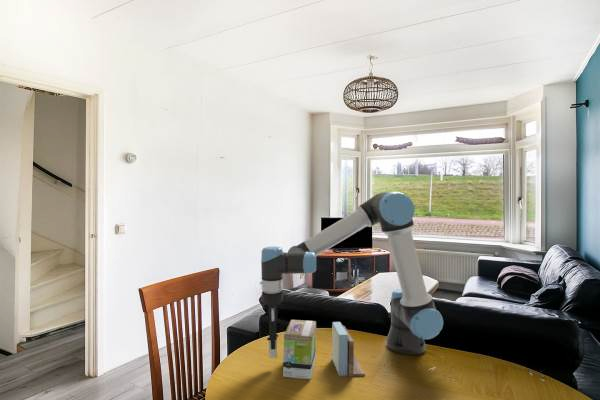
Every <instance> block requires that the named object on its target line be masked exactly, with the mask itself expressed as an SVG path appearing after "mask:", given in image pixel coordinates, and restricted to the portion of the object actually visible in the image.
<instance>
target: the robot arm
mask: <svg viewBox="0 0 600 400" xmlns="http://www.w3.org/2000/svg"><path fill="white" fill-rule="evenodd" d="M356 208H357V209H356V210H354V211H353V212H352V213H350V214H348V215H346V216H344V217H343V218H340V220H338V221H336V222H335V223H333V224H331V225H329V226H328V227H326V228H324V229H323V230H320V231H318V232H317V233H315V234H313V235H312V236H311V237H309V238H307V239H306V240H304V241H303V242H301V243H299V244H297V245H292V246H291V247H290V248H289V249H288V251H287V252H285V251H283V247H281V246H266V247H262V250H261V259H260V261H261V262H260V263H261V281H260V282H259V284H260V285H261V290H262V292H261V302H262V303H263V304H266V305H267V306H266V313H267V321H268V329H269V330H268V333H269V334H268V337H267V341H268V355H269V356H268V358H269V359H271V358H272V359H273V358H274V359H275V358H277V357H278V348H277V347H278V345H277V344H278V341H277V340H278V337H279V333H277V321H278V319H279V318H278V315H279V306H278V304H281V303H282V302H283V301H284V291H283V290H284V278H283V277H284V274H285V275H290V274H292V275H294V274H305V275H308V274H313V273H315V272H316V271H317V257H318V256H320V255H321V254H323V253H324V252H326V251H327V250H329V249H331V248H332V247H334V246H336V245H338V244H339V243H341V242H343V241H344V240H346V239H348V238H349V237H351V236H353V235H354V234H356V233H357V232H360V231H362V230H364V228H366V227H369V228H372V227H373V226H375V225H377V224H379V226H380V230H381V233H384V234H385V235H386V236H387V239H388V243H389V248H390V251H391V255H392V259H393V263H394V267H395V271H396V274H397V275H396V276H397V278H398V282H399V286H400V289H395V290H393V291H391V296H390V307H391V309H390V312H391V313H390V315H391V317H390V328H389V332H388V334H387V337H386V347H387V348H388V349H389V350H390V351H392V352H394V353H398V354H401V355H407V356H415V355H416V356H417V355H421V354H424V353H425V351H426V342H425V340H431V339H433V338H436V337H437V336H438V335H439V334H440V332H441V331H442V329H443V326H444V319H443V316H442V314H441V312H440V311H438V310H437V308H436V306H435V302H434V298H433V296H432V295H431V294H430V293H428V291H427V289H426V284H425V281H424V276H423V273H422V270H421V264H420V261H419V258H418V253H417V249H416V245H415V241H414V237H413V233H412V229H413V227H414V226H415V223H414V220H413V219H414V218H413V217H414V215H415V205H414V202H413V201H412V199H411V197H409V196H408V195H407V194H405V193H402V192H400V191H385V192H379V193H376V194H375V195H373V196H372V197H371V198H369V199H367V200H366V201H365V202H363V203H361V204H360V205H358V206H357V207H356Z"/></svg>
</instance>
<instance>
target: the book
mask: <svg viewBox="0 0 600 400" xmlns="http://www.w3.org/2000/svg"><path fill="white" fill-rule="evenodd" d="M331 324H332V325H331V326H332V327H331V328H332V329H331V330H332V332H331V334H332V337H331V343H332V344H331V360H332V362H333V365H334V368H335V367H336V368H335V369H336V370H335V371H336V373H337V374H338V377H340V376H348V373H347V363H348V334H347V332H346V331H345V329H344V327H343V326H344V325H343V324H342V323H341V321H333V322H332V323H331Z"/></svg>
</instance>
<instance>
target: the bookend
mask: <svg viewBox="0 0 600 400" xmlns="http://www.w3.org/2000/svg"><path fill="white" fill-rule="evenodd" d="M342 326H343V327H344V329H345V331H346V332H347V334H348V363H347V376H348V377H351V378H352V377H365V376H366V374H365V371H364V369H363V368H362V365H361V363H360V362H359V360H358V359H357V357H356V355H355V353H354V352H355V351H354V350H355V341H354V340H353V339H354V338H352V336H351V334H350V333H349V331H348V329H347V328H346V326H345V325H342Z"/></svg>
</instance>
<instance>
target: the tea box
mask: <svg viewBox="0 0 600 400" xmlns="http://www.w3.org/2000/svg"><path fill="white" fill-rule="evenodd" d="M283 337H284V338H283V339H284V340H283V363H282V367H283V368H282V377H284V378H292V379H301V380H312V379H311V378H312V375H313V371H314V368H315V361H316V352H317V350H316V347H317V344H316V343H317V321H316V320H303V319H302V320H301V319H290V321H289V323H288V326H287V327H286V330H285V332H284V335H283Z"/></svg>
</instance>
